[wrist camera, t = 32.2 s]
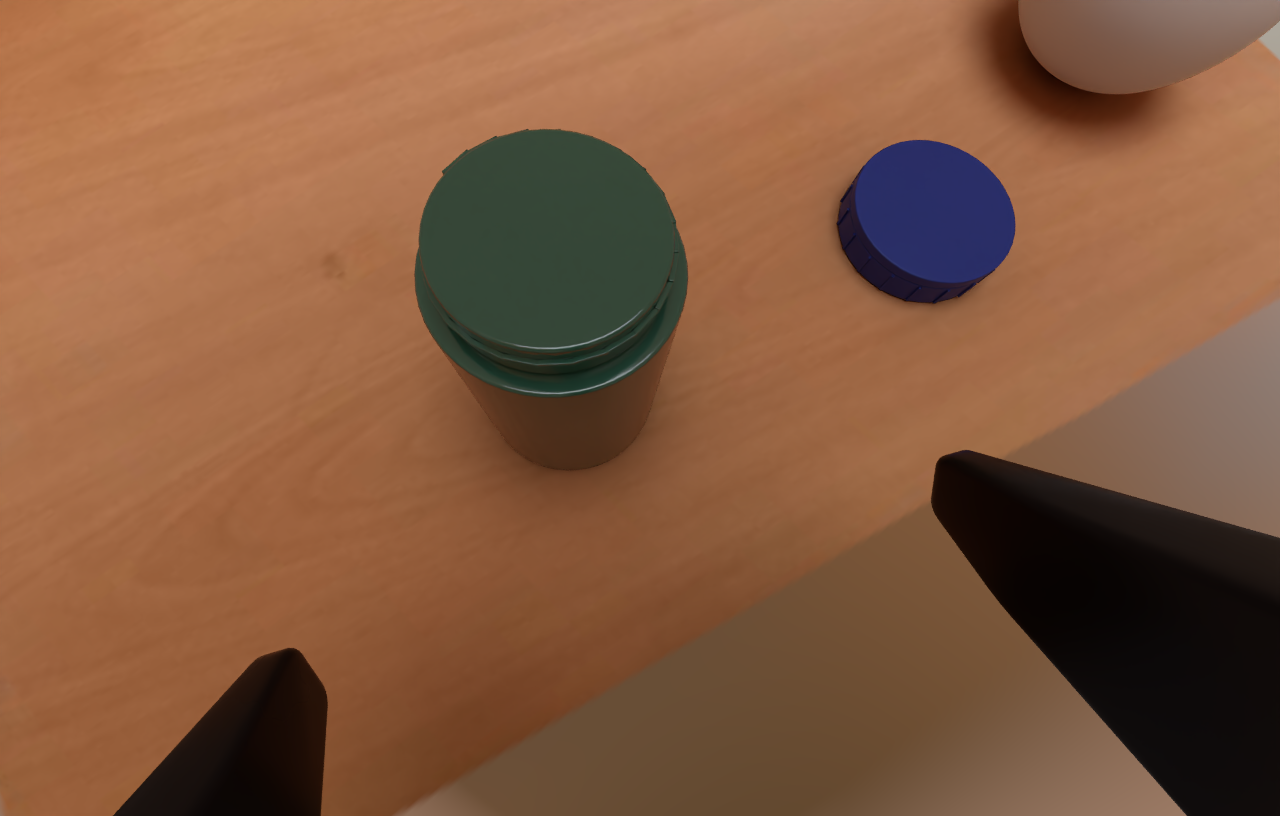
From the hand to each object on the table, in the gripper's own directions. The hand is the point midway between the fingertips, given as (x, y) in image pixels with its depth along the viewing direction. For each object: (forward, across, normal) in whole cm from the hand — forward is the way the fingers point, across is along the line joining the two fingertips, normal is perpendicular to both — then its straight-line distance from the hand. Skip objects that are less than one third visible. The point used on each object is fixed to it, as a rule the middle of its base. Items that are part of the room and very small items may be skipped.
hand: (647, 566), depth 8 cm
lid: (+16, -17, +1) cm, 23 cm away
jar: (+15, 0, +4) cm, 15 cm away
